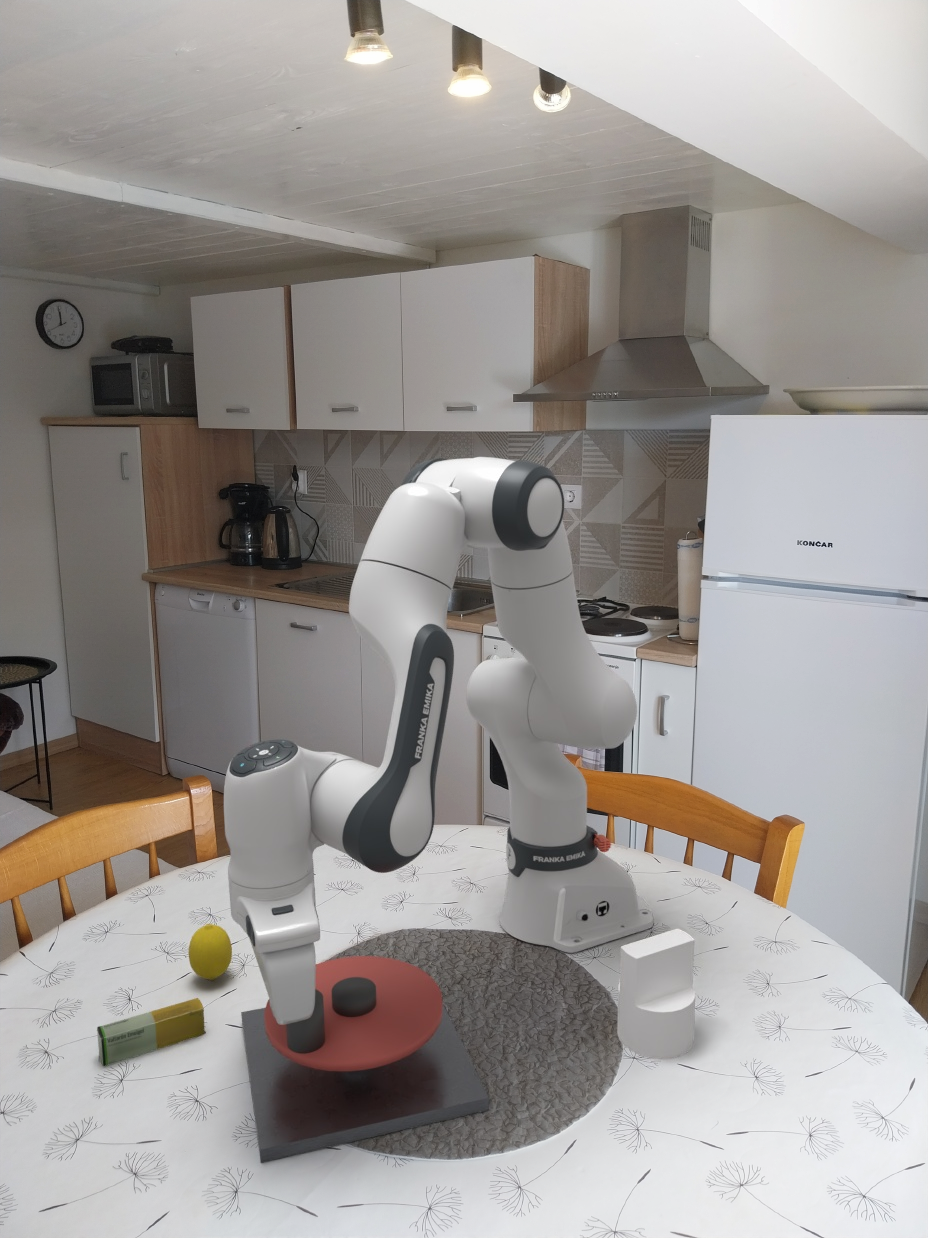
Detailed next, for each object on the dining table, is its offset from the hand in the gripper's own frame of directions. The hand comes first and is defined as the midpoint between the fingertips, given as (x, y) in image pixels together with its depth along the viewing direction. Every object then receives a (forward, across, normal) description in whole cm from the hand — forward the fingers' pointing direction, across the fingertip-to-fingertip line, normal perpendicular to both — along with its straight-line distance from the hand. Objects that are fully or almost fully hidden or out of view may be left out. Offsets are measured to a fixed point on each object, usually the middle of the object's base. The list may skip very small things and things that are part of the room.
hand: (280, 1012), depth 104 cm
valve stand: (+10, -1, +8) cm, 13 cm away
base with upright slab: (+10, +7, +43) cm, 45 cm away
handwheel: (+3, -1, +9) cm, 9 cm away
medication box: (+10, -14, -13) cm, 22 cm away
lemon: (+10, -25, -5) cm, 28 cm away
